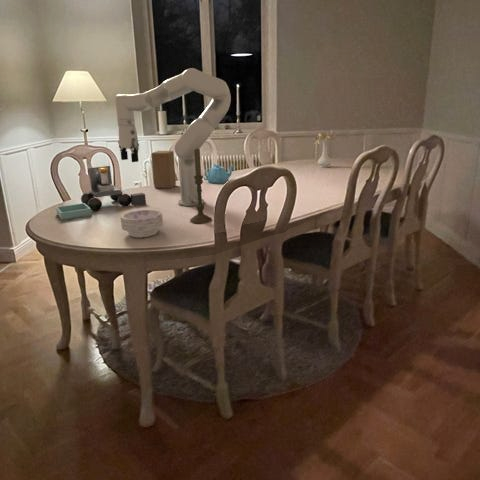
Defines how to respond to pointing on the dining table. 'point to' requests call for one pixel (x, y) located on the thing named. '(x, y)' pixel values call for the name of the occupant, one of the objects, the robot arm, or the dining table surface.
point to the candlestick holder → (199, 193)
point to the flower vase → (324, 147)
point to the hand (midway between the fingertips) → (129, 160)
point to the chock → (138, 199)
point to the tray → (73, 211)
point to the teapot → (218, 174)
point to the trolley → (102, 190)
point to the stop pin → (104, 176)
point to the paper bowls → (142, 223)
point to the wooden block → (163, 169)
